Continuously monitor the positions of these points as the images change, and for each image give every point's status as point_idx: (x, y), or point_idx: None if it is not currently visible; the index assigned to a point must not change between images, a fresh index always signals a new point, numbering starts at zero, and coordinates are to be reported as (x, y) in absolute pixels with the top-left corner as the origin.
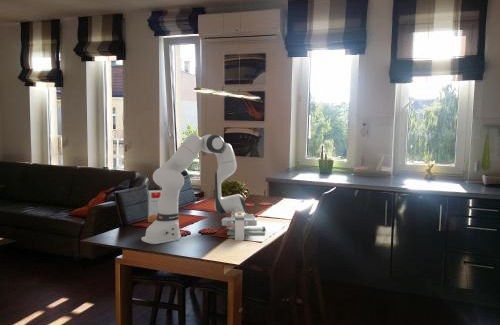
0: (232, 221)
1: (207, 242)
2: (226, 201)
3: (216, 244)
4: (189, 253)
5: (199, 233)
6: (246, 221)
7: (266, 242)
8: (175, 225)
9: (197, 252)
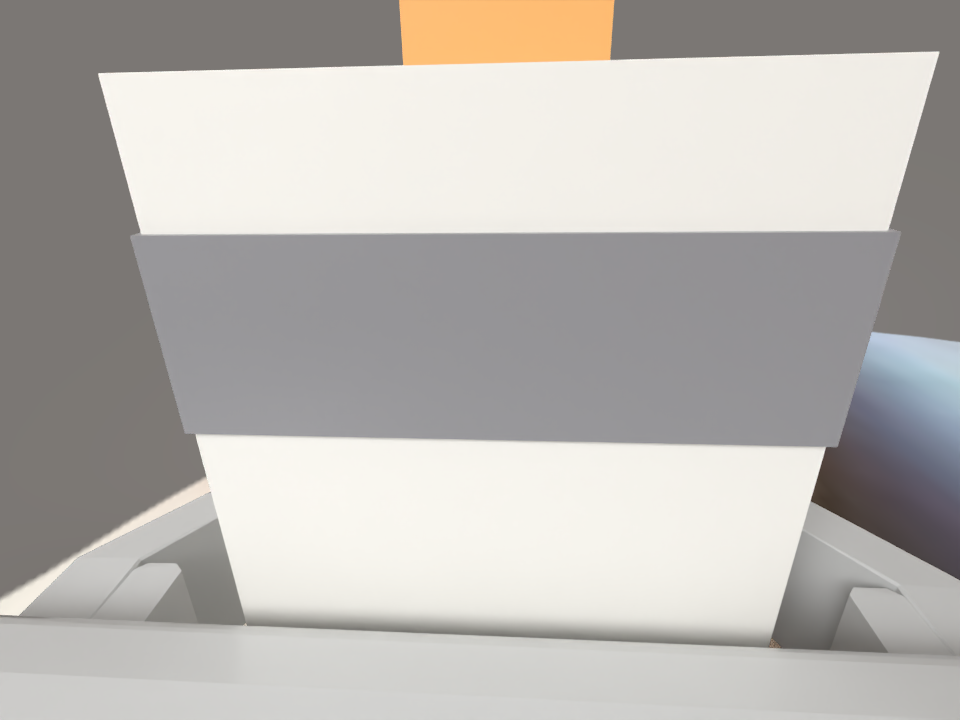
0: (914, 642)
1: None
2: None
3: (831, 491)
4: (918, 345)
5: None
6: (108, 614)
7: (115, 532)
8: None
9: (869, 355)
